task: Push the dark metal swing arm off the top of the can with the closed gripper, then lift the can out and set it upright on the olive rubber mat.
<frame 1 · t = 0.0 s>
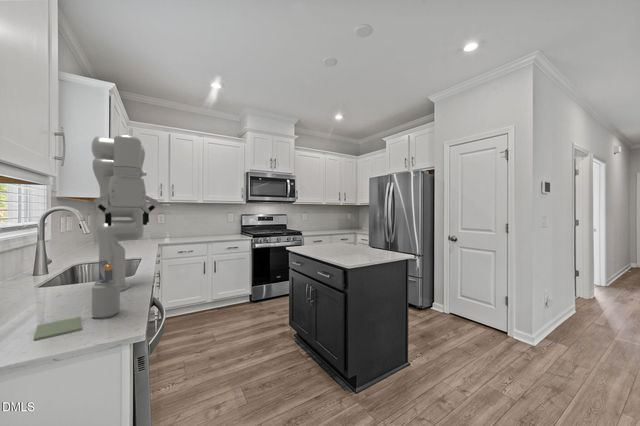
hand: (127, 225, 89), 31 cm above the countertop, tool pointing down, fingers open, 9 cm apart
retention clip: (105, 285, 94), point 10 cm above the countertop, hinge at 0.0°
can: (106, 315, 93), on the countertop
clip base: (103, 306, 101), on the countertop
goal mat: (59, 328, 82), on the countertop
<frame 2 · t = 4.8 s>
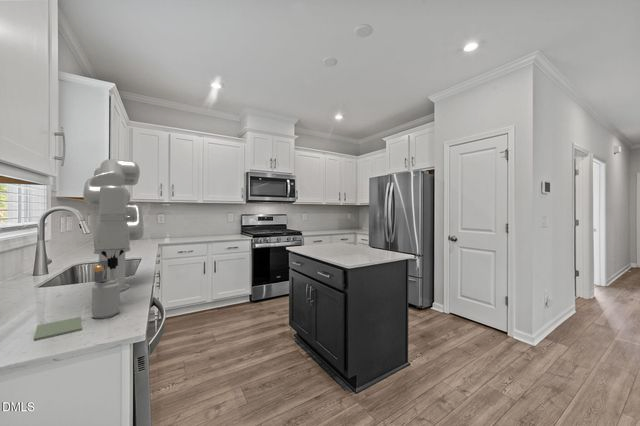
hand: (112, 268, 100), 15 cm above the countertop, tool pointing down, fingers closed
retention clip: (101, 285, 94), point 10 cm above the countertop, hinge at -7.3°, touching gripper
everything else where it was.
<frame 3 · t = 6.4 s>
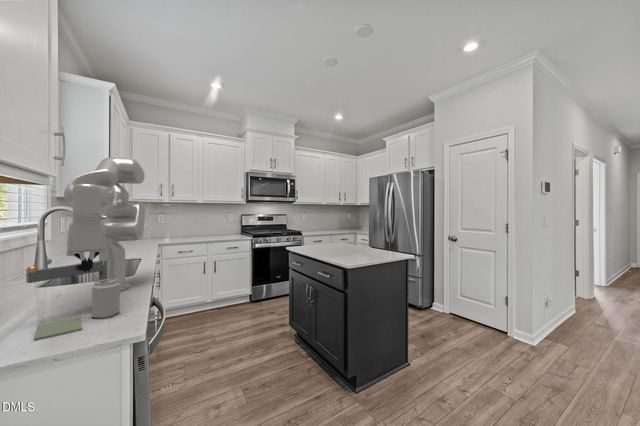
hand: (87, 271, 95), 15 cm above the countertop, tool pointing down, fingers closed
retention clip: (70, 286, 93), point 10 cm above the countertop, hinge at -70.1°
everything else where it was.
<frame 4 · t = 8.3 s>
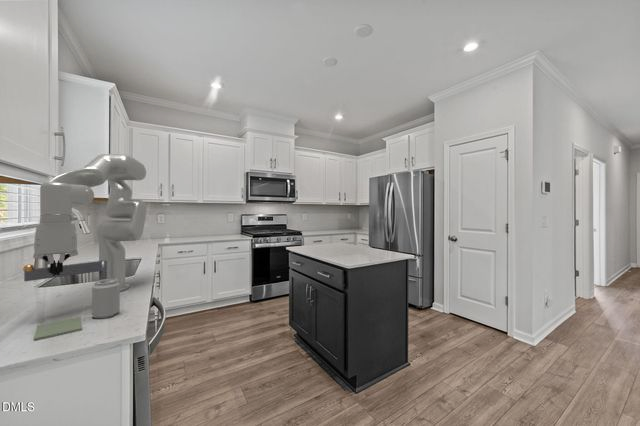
hand: (56, 274, 90), 15 cm above the countertop, tool pointing down, fingers closed
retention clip: (68, 285, 94), point 10 cm above the countertop, hinge at -81.6°
everything else where it was.
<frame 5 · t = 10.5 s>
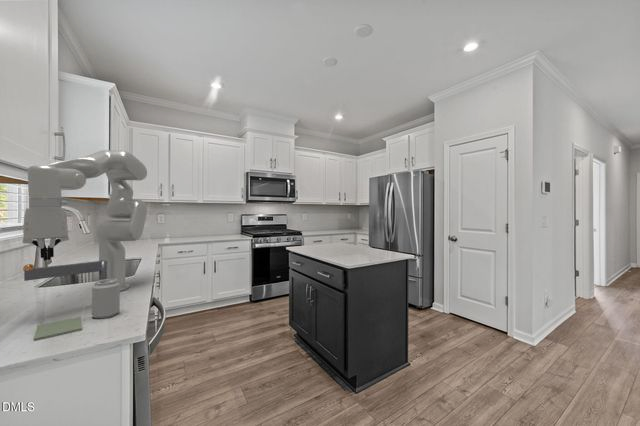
hand: (47, 259, 89), 20 cm above the countertop, tool pointing down, fingers closed
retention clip: (68, 285, 94), point 10 cm above the countertop, hinge at -85.1°
everything else where it was.
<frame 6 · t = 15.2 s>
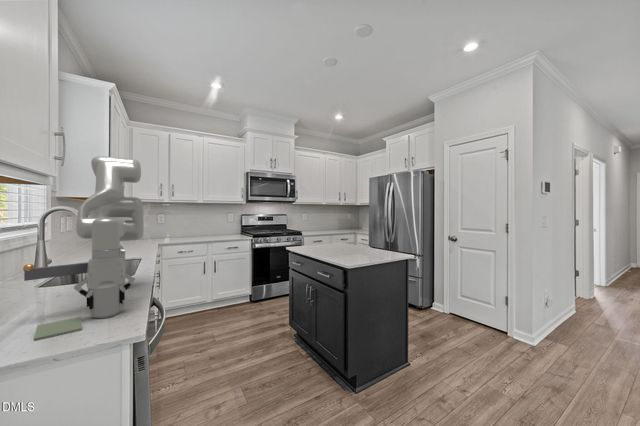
hand: (106, 305, 93), 3 cm above the countertop, tool pointing down, fingers closed on can, 7 cm apart
can: (106, 315, 93), on the countertop, touching gripper
everything else where it was.
when the fingers open (5 cm above the countertop, at t = 23.2 s): can stays where it is, resting on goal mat.
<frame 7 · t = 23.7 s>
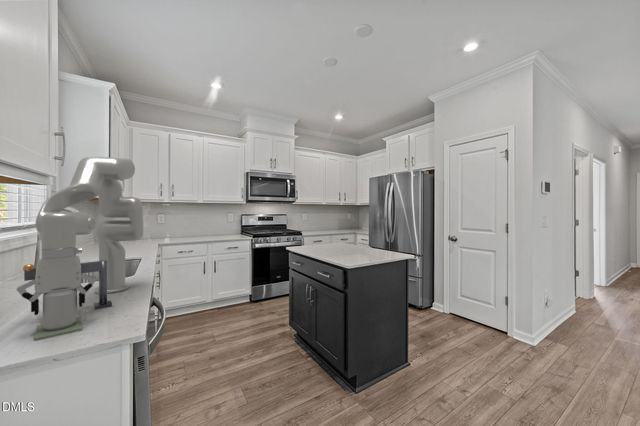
hand: (59, 309, 82), 6 cm above the countertop, tool pointing down, fingers open, 9 cm apart
can: (60, 326, 82), point 1 cm above the countertop, touching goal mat
everything else where it was.
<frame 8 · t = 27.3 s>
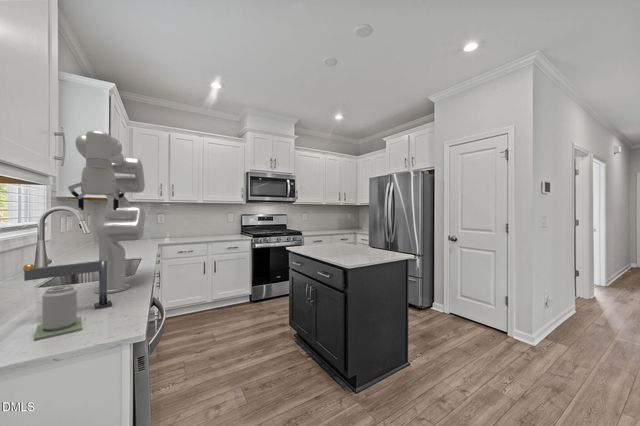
hand: (99, 210, 102), 36 cm above the countertop, tool pointing down, fingers open, 9 cm apart
nothing on the countertop moved.
at the end: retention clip at -85° (first picture: +0°); can inside the target area on the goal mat (0.2 cm from its centre), point 0.4 cm above the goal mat's base; can tilted 0° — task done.
